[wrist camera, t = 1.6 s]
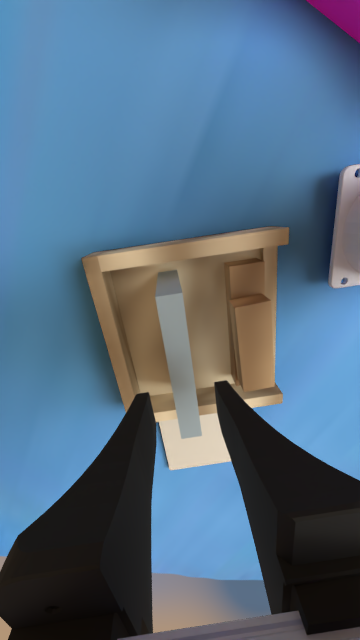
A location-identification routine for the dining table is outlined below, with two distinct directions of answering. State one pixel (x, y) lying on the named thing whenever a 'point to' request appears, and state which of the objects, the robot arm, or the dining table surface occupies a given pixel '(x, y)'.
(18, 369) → the dining table surface
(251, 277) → the offcut lower
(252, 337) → the offcut upper
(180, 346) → the sheet
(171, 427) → the mat
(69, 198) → the dining table surface
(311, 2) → the toy block
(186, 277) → the wooden tray
